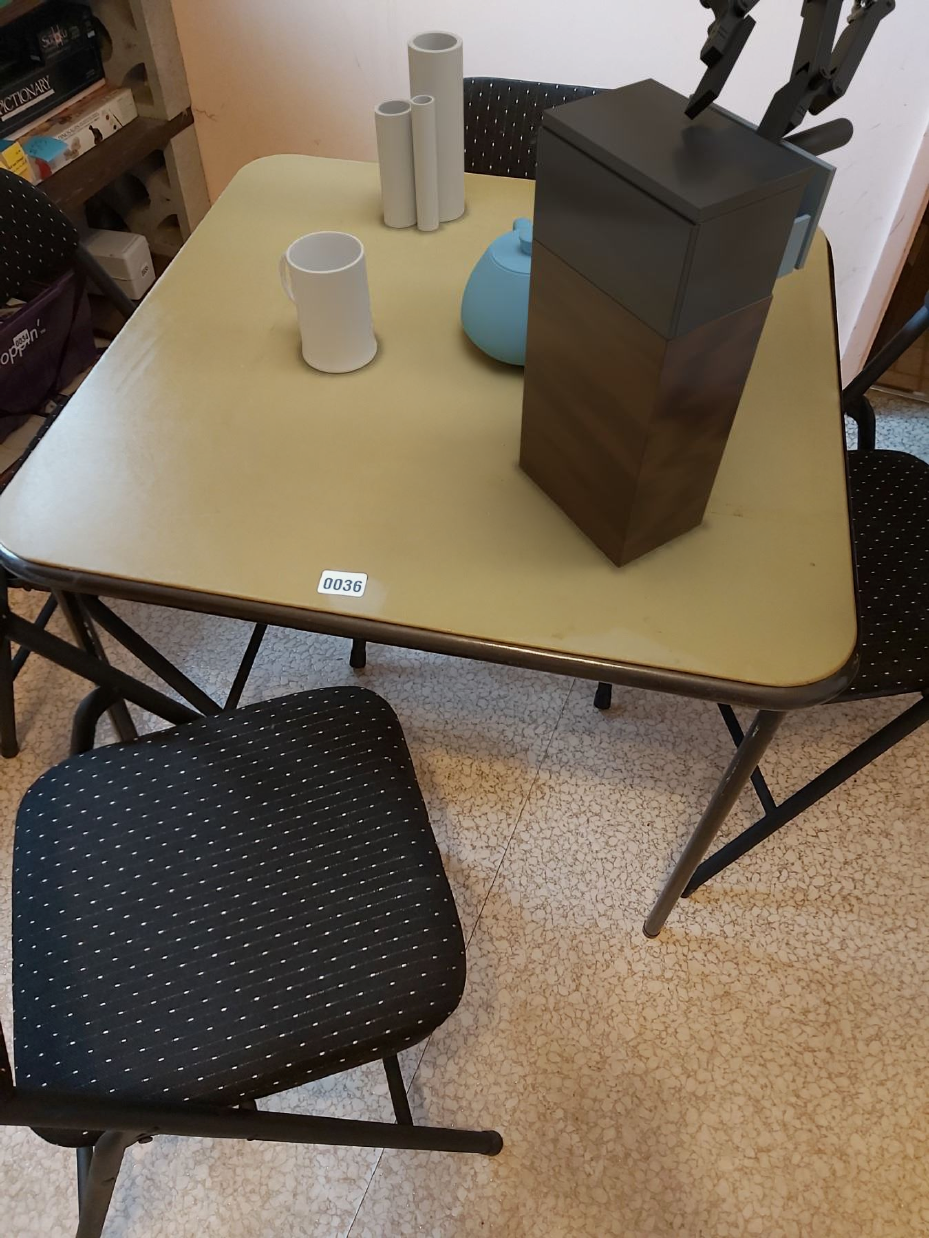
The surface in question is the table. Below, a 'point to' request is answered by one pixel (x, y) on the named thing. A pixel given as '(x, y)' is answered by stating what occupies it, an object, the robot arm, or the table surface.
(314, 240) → the mug
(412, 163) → the vase
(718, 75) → the robot arm
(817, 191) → the top drawer
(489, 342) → the teapot
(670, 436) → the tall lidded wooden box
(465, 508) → the table surface
